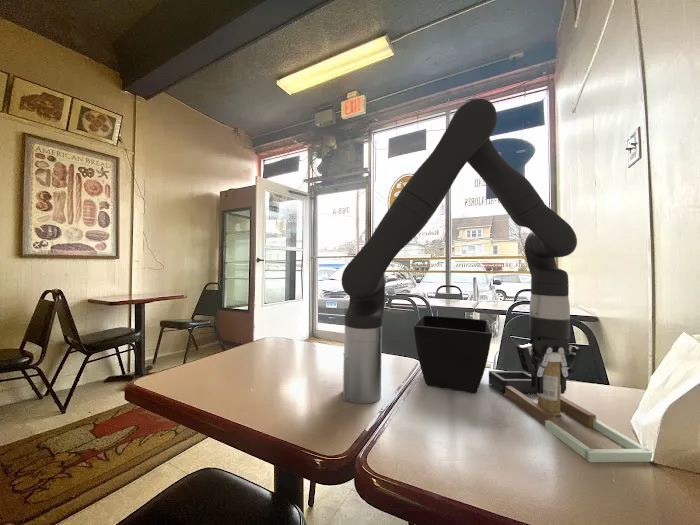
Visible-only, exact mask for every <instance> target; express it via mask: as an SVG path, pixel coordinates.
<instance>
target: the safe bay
mask: <svg viewBox="0 0 700 525" xmlns="http://www.w3.org/2000/svg"><path fill="white" fill-rule="evenodd" d="M544 428H545V429H546V430H547V431H549V433H551V434H552V435H554V436H555V437H557V439H559V440H561V442H563V443H564V444H566V446H568V447H570V448H571V449H572V450H573V451H575V452H576V453H577V454H579V455H580V456H582V457H583V459H585V460H587V462H589V463H650V462H651V458H652V453H653V452H654V451H652V450H650V449H649V448H647V447H645V446H643V445H642V444H640V443H638V442H637V441H635V440H633V439H631V437H628V436H626V435H625V434H622V432H619V431H618V430H617V429H614V428H612V427H611V426H609V425H608V424H605V423H604V422H602V421H600V420H599V419H596V420H593V428H592V429H594V430H596V431H597V432H599V433H601V434H602V435H604V436H606V437H608V438H609V439H610V440H613V442H615V443H618V445H620V446H622V447H624V448H601V449H599V448H595V449H593V448H592V449H591V448H590V447H588V446H587V445H586V444H584V443H583V442H581V441H580V440H578V439H577V438H575V437H574V436H572V435H571V434H570V433H568V432H567V431H566V430H564V429H563V428H562V427H560V426H558V425H557V424H556V423H555V424H554V423H553V422H552V421H550V420H545V426H544Z"/></svg>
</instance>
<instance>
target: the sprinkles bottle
mask: <svg viewBox="0 0 700 525" xmlns="http://www.w3.org/2000/svg"><path fill="white" fill-rule="evenodd" d="M546 358H547V357H546ZM537 360H538V361H539V362H540V361H541V359H539V358H538V359H537ZM560 362H561V355H560V354H559V353H557V352H552V354H550V355H548V364H547V367H546V368H544V371H543V374H542V376H541V377H543V393H542V394H538V393H537V394H536V395H537V402H536V403H537V404H539V405H540V406H542V407H543V408H545V409H546V410H548V411H549V412H551V413H552V414H554V415H555V417H556V416H560V415H561V413H562V411H561V410H560V399H561V396H562V394H561V385H560Z"/></svg>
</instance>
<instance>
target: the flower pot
mask: <svg viewBox="0 0 700 525" xmlns="http://www.w3.org/2000/svg"><path fill="white" fill-rule="evenodd" d="M413 332H414V333H413V334H414V339H415V347H416V352H417V358H418V361H419V366H420V370H421V373H422V377H423V380H424V383H425V385H426V386H428V387H432V388H433V387H434V388H438V389H444V390H450V391H456V392H463V393H469V394H476V393H477V392H478V389H479V388H480V385H481V382H482V379H483V376H484V373H485V370H486V366H487V362H488V359H489V358H488V357H489V354H490V348H491V344H492V343H491V342H492V337H493V336H492V335H493V332H492V330H491V327H490V324H489V321H488V320H486V319H480V318H479V319H478V318H477V319H476V318H467V317H466V318H465V317H453V316H442V315H441V316H439V315H425V314H424V315H422V316H421V317H420V318H419V319H418V320H417V322H415V323H414V324H413Z"/></svg>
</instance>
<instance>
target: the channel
mask: <svg viewBox="0 0 700 525" xmlns="http://www.w3.org/2000/svg"><path fill="white" fill-rule="evenodd" d="M504 396H505V397H506V398H507V399H508V400H510V401H511V402H512V403H514V404H515V405H516V406H517V407H519V408H520V409H521V410H523V411H525V412H526V413H527V414H528V415H530V416H531V417H532V418H534V419H535V420H537V422H539V423H540V424H542V425H543V426H544V427H545V420H550V421H552V422H553V423H554V424H556V416H555V415H554V414H552V413H551V412H549V411H548V410H546V409H545V408H543V407H542V406H540V405H539V404H537V403H538V402H536V401H534V400H533V399H531V398H530V397H528V396H527V395H526V394H522V393H521V392H519V391H518V390H516V389H515V388H513V387H512V386H505V394H504ZM560 411H561V412H563V413H564V414H566V415H568V416H569V417H571V418H572V419H573V420H575V421H577V422H579V424H582V425H583V426H585V427H586V428H588V429H594V428H593V420H597V415H596V414H595V413H592V412H591V411H589V410H588V409H586V408H583V407H582V406H580V405H579V404H577V403H575V402H573V401H571V400H569V399H567V398H566V397H564V396H562V395H561V399H560Z"/></svg>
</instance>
